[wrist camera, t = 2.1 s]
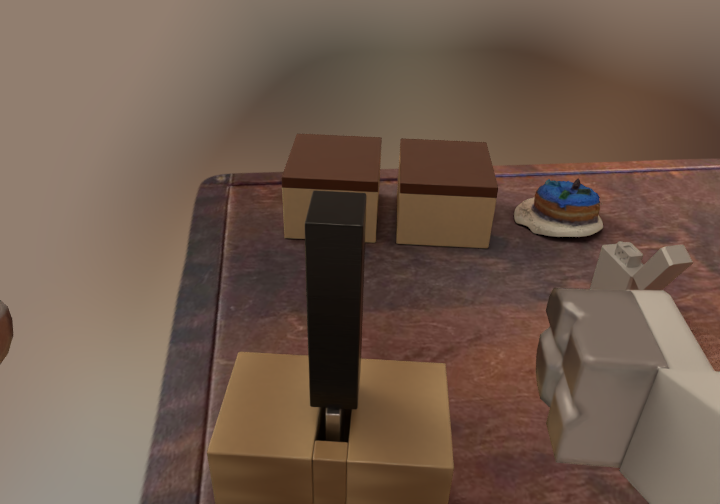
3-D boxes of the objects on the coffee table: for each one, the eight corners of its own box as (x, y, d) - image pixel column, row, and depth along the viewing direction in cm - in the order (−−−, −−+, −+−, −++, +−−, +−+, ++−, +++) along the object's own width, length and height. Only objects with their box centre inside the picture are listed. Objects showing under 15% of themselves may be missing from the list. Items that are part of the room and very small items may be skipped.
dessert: (614, 205, 60) (614, 173, 55) (593, 267, 58) (592, 238, 53) (531, 189, 64) (524, 157, 59) (510, 246, 62) (501, 218, 57)
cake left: (284, 238, 56) (281, 177, 52) (298, 189, 63) (296, 133, 60) (375, 243, 55) (378, 181, 52) (379, 193, 63) (381, 137, 59)
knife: (312, 550, 32) (303, 227, 21) (319, 497, 34) (313, 185, 24) (352, 553, 32) (362, 230, 21) (356, 500, 34) (367, 188, 23)
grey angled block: (588, 290, 50) (612, 202, 46) (607, 288, 51) (634, 200, 46) (639, 350, 45) (673, 257, 40) (661, 347, 45) (697, 254, 40)
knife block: (226, 574, 31) (206, 452, 26) (251, 469, 36) (238, 350, 31) (434, 588, 30) (454, 468, 25) (429, 481, 35) (445, 362, 30)
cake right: (396, 244, 55) (400, 182, 52) (397, 194, 63) (400, 138, 59) (488, 248, 55) (498, 187, 52) (478, 198, 62) (486, 142, 59)
